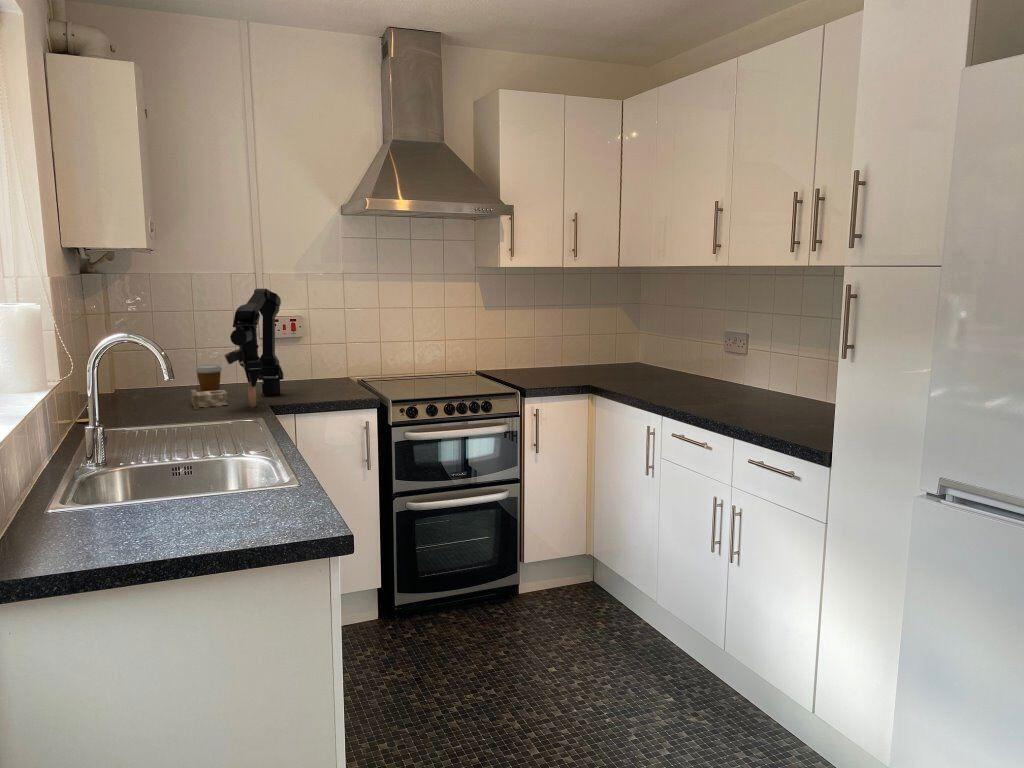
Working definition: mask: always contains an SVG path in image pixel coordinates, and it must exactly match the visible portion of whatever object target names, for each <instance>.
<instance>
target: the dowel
mask: <svg viewBox="0 0 1024 768" xmlns="http://www.w3.org/2000/svg"><path fill="white" fill-rule="evenodd" d="M247 392H248V394H247V395H248V407H249V406H250V407H249V408H253V407H252V406H257V391H256V386H255V387H252V385H251V384H247Z"/></svg>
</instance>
